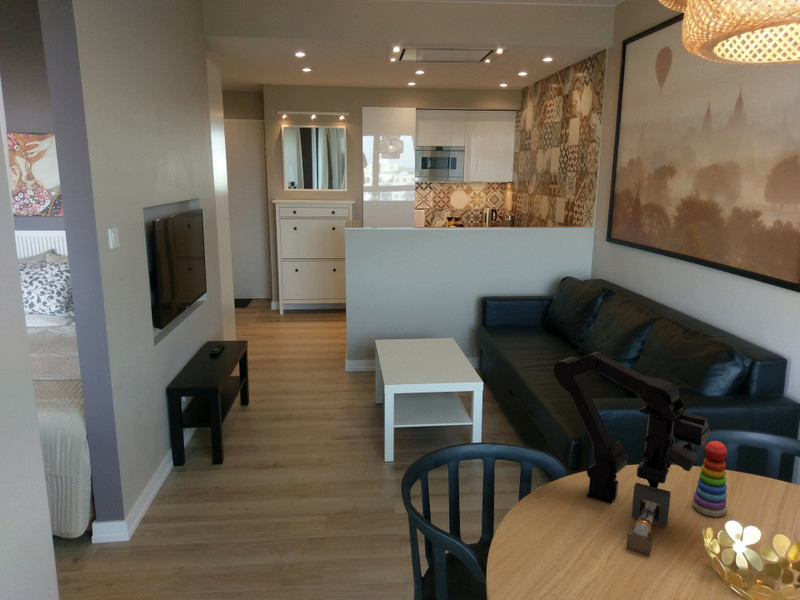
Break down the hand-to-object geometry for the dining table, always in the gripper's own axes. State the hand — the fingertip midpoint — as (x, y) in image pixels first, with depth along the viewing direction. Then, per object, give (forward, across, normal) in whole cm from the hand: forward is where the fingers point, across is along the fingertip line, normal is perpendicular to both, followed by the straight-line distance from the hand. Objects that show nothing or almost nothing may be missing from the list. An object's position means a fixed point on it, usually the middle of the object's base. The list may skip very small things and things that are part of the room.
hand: (654, 490), depth 143 cm
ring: (+7, -3, 0) cm, 8 cm away
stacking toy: (+7, +11, -12) cm, 18 cm away
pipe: (+7, -8, 0) cm, 11 cm away
